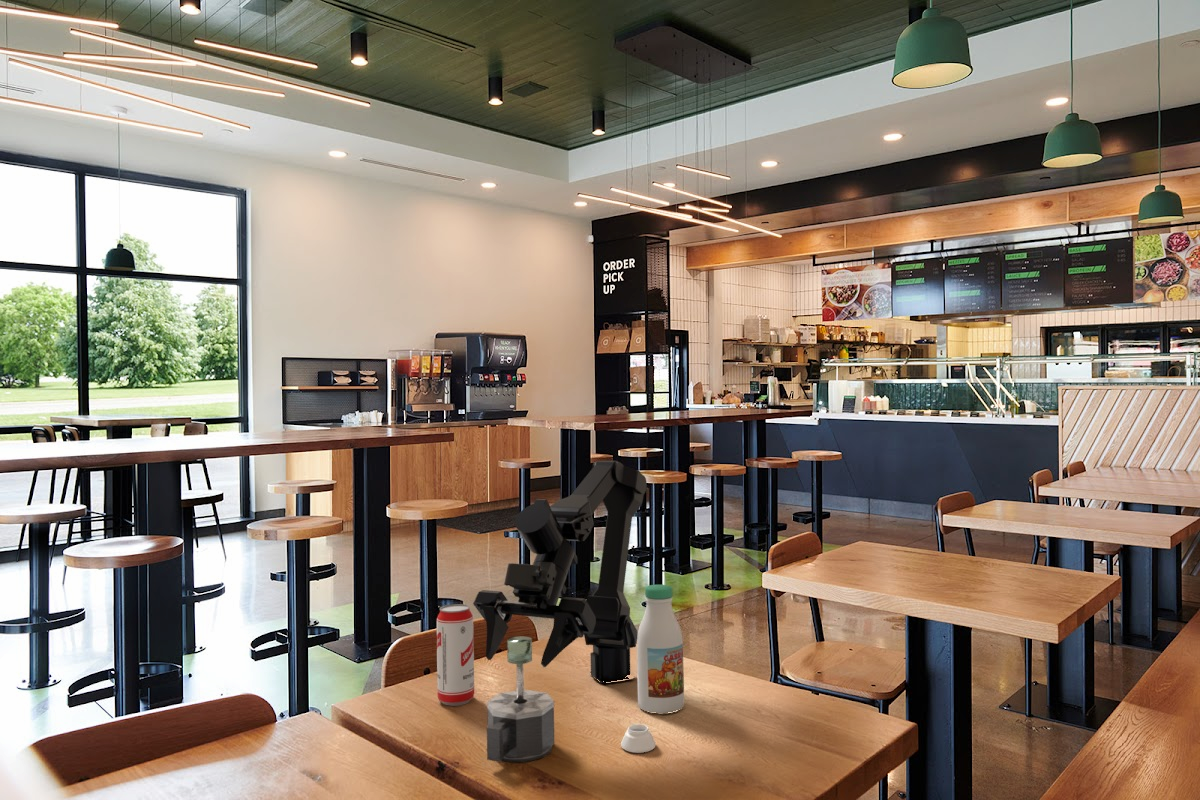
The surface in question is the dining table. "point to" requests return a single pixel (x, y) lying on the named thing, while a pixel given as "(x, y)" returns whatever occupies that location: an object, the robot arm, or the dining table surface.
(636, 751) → the white jar
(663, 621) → the milk bottle
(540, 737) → the grey octagonal canister
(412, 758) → the dining table surface
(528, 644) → the plunger
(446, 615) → the beer can
